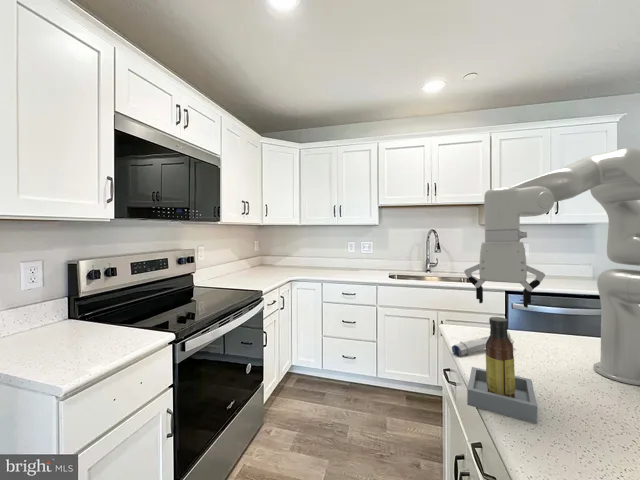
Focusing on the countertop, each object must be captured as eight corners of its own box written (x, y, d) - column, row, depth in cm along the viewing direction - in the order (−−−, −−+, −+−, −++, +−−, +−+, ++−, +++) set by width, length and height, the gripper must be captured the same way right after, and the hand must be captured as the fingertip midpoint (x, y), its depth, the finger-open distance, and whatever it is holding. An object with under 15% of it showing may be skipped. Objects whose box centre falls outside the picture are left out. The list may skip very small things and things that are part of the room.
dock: (531, 394, 77) (531, 379, 77) (537, 424, 65) (537, 406, 65) (471, 380, 84) (471, 366, 84) (467, 405, 73) (467, 389, 72)
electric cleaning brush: (449, 342, 104) (503, 325, 111) (451, 360, 104) (505, 342, 111) (460, 347, 99) (516, 330, 106) (462, 366, 99) (518, 347, 106)
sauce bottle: (510, 390, 77) (511, 316, 76) (518, 404, 71) (519, 323, 70) (482, 387, 79) (483, 314, 78) (488, 399, 73) (489, 321, 72)
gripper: (542, 236, 72) (543, 304, 73) (465, 237, 82) (466, 297, 82) (546, 237, 66) (547, 312, 67) (462, 238, 75) (463, 304, 76)
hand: (502, 304), depth 74 cm, fingers open, 9 cm apart
